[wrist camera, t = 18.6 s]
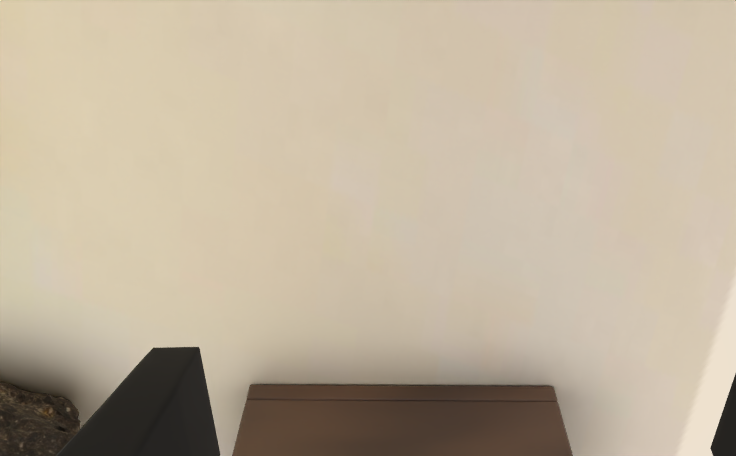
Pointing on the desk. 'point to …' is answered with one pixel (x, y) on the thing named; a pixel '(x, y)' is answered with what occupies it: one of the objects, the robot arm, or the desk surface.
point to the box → (401, 421)
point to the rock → (34, 422)
